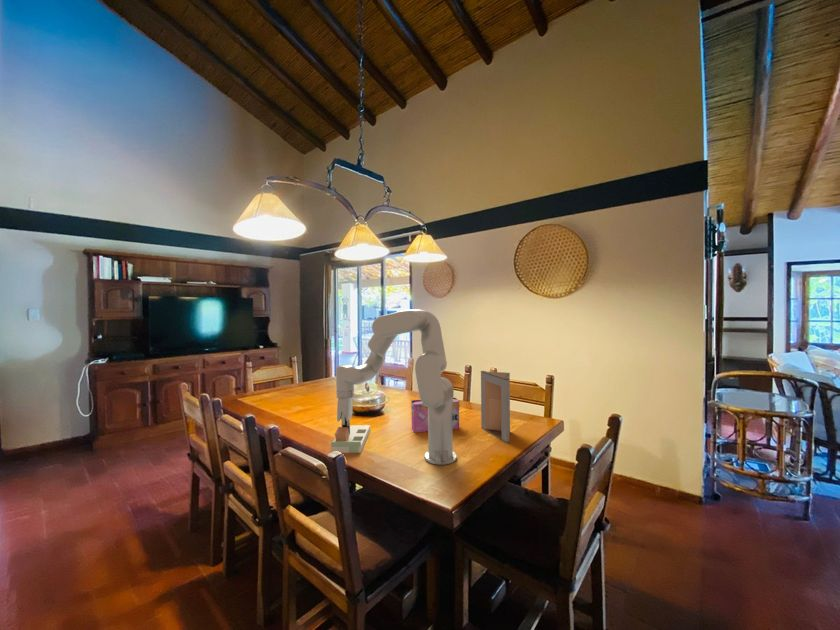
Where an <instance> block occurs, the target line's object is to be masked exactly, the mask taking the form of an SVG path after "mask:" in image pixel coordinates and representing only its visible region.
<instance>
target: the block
mask: <svg viewBox="0 0 840 630" xmlns="http://www.w3.org/2000/svg"><path fill="white" fill-rule="evenodd" d="M335 438H336V441H348V438H349V429H348V427H342V426H337V429H336V431H335V433H334V439H335Z"/></svg>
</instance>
